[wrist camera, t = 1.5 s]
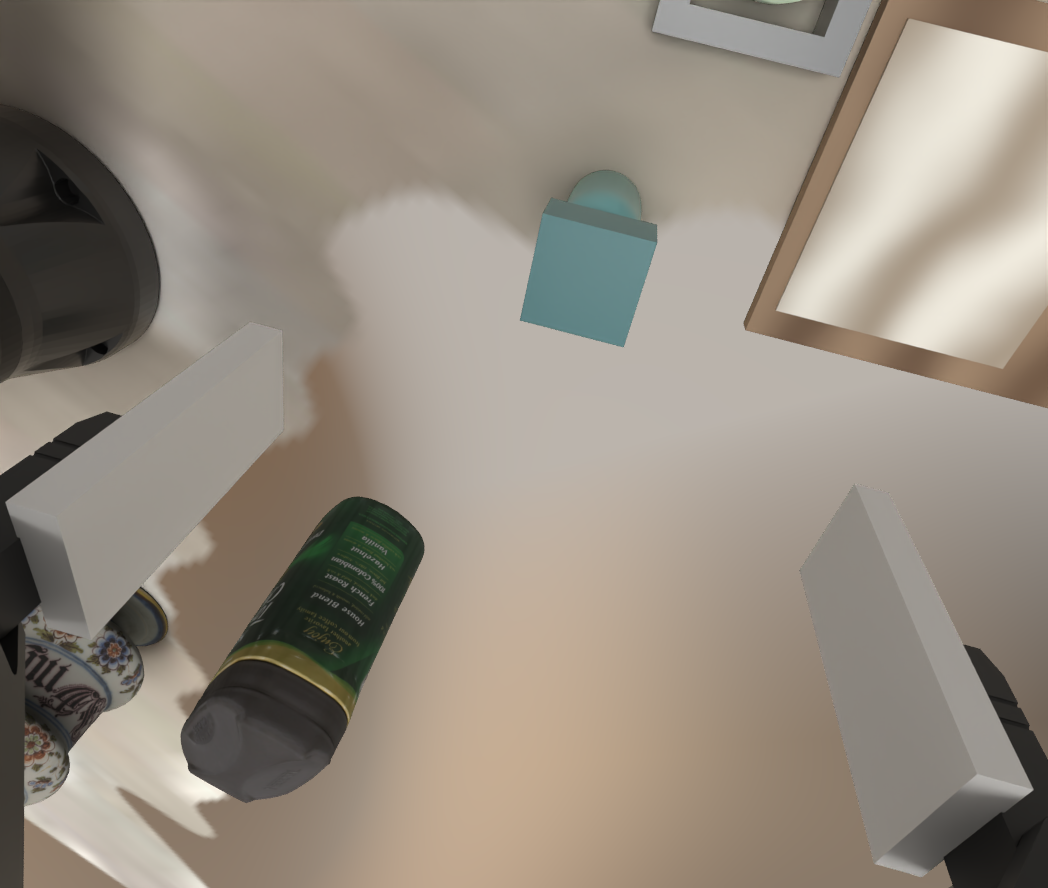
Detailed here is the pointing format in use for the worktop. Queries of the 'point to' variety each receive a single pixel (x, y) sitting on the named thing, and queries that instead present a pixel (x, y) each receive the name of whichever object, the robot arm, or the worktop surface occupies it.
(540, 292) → the teal square-headed peg
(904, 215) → the clipboard
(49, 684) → the apothecary jar
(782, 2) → the button
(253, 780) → the coffee jar
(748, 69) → the worktop surface
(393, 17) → the worktop surface
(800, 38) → the button housing
